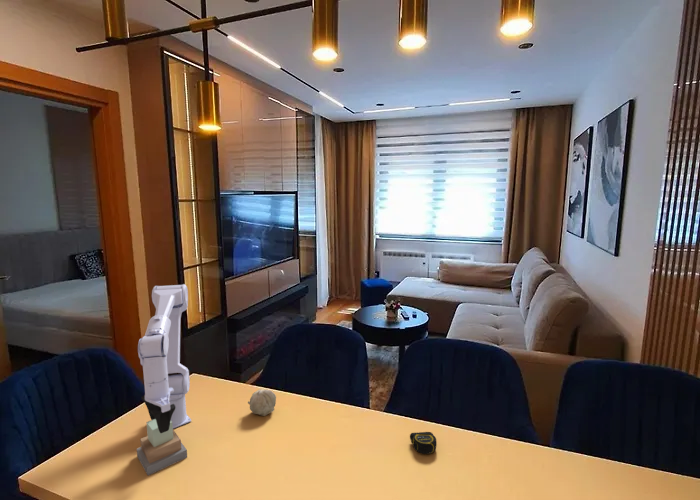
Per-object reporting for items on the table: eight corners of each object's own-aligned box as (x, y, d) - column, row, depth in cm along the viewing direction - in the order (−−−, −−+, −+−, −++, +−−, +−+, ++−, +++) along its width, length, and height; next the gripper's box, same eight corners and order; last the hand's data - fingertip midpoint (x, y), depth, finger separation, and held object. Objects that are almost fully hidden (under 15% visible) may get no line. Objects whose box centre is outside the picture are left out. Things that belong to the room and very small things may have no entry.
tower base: (137, 458, 103) (136, 448, 103) (174, 442, 110) (174, 433, 110) (147, 478, 96) (147, 467, 96) (187, 459, 103) (186, 449, 102)
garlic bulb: (275, 416, 126) (284, 392, 124) (260, 426, 118) (269, 400, 117) (256, 402, 129) (264, 378, 128) (240, 411, 122) (249, 385, 121)
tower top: (141, 448, 103) (140, 438, 102) (171, 436, 108) (170, 426, 108) (149, 463, 97) (148, 453, 97) (181, 449, 103) (180, 439, 102)
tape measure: (432, 440, 110) (432, 429, 110) (439, 456, 103) (439, 444, 103) (409, 441, 110) (409, 430, 109) (415, 457, 103) (415, 445, 102)
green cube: (147, 438, 102) (146, 422, 102) (166, 430, 106) (165, 414, 105) (154, 447, 99) (152, 430, 98) (173, 438, 102) (172, 422, 102)
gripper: (181, 383, 97) (184, 430, 99) (163, 364, 108) (166, 408, 110) (151, 392, 92) (155, 442, 94) (136, 372, 103) (140, 417, 105)
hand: (159, 424), depth 102 cm, fingers open, 7 cm apart
